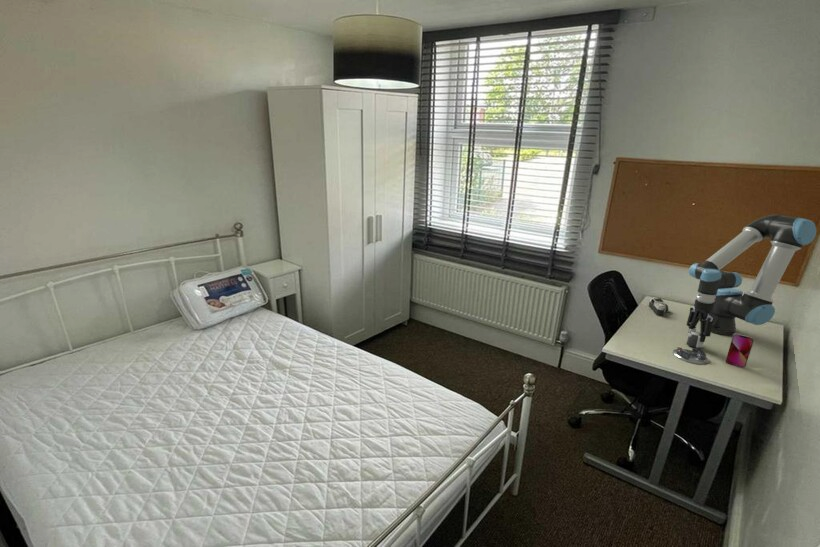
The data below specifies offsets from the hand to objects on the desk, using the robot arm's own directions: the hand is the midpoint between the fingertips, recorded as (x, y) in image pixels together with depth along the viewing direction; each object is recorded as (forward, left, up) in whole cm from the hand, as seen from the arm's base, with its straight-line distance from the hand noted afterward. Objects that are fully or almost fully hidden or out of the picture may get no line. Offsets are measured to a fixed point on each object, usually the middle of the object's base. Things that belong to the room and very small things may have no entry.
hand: (694, 343), depth 199 cm
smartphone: (-6, +18, -1) cm, 19 cm away
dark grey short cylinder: (0, 0, 0) cm, 1 cm away
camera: (-7, -41, -2) cm, 42 cm away
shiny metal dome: (+10, +11, -1) cm, 15 cm away
